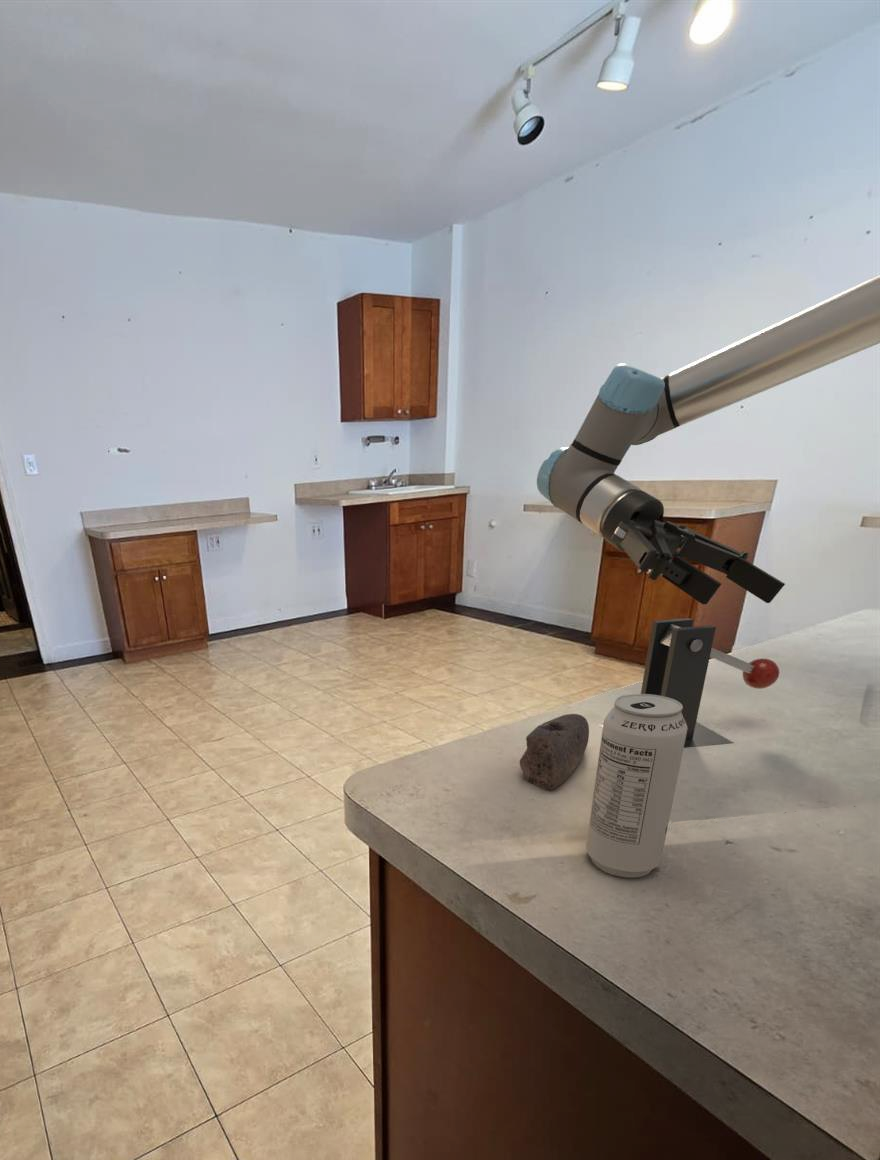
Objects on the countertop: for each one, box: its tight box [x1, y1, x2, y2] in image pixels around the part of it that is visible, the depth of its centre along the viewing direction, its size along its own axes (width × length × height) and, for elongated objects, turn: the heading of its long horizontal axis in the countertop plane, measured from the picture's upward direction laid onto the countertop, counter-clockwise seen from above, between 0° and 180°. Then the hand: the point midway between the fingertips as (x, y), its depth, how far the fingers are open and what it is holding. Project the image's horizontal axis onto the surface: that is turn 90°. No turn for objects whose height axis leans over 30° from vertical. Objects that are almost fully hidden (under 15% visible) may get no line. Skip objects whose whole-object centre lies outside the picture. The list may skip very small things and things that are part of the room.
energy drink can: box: [585, 693, 688, 879], centre depth 54 cm, size 6×6×15 cm
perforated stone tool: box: [519, 713, 590, 792], centre depth 72 cm, size 15×5×7 cm, turn 139°
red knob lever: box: [660, 624, 780, 690], centre depth 75 cm, size 15×4×4 cm, turn 94°
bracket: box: [598, 617, 735, 749], centre depth 76 cm, size 12×9×15 cm
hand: (745, 594), depth 77 cm, fingers open, 13 cm apart
